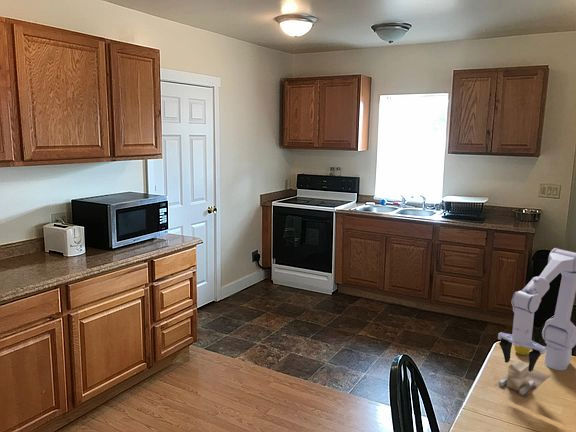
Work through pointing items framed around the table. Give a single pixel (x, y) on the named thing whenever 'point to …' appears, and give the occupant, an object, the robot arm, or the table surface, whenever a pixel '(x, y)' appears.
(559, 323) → the robot arm
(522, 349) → the lemon
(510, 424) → the table surface
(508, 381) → the block
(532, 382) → the board
